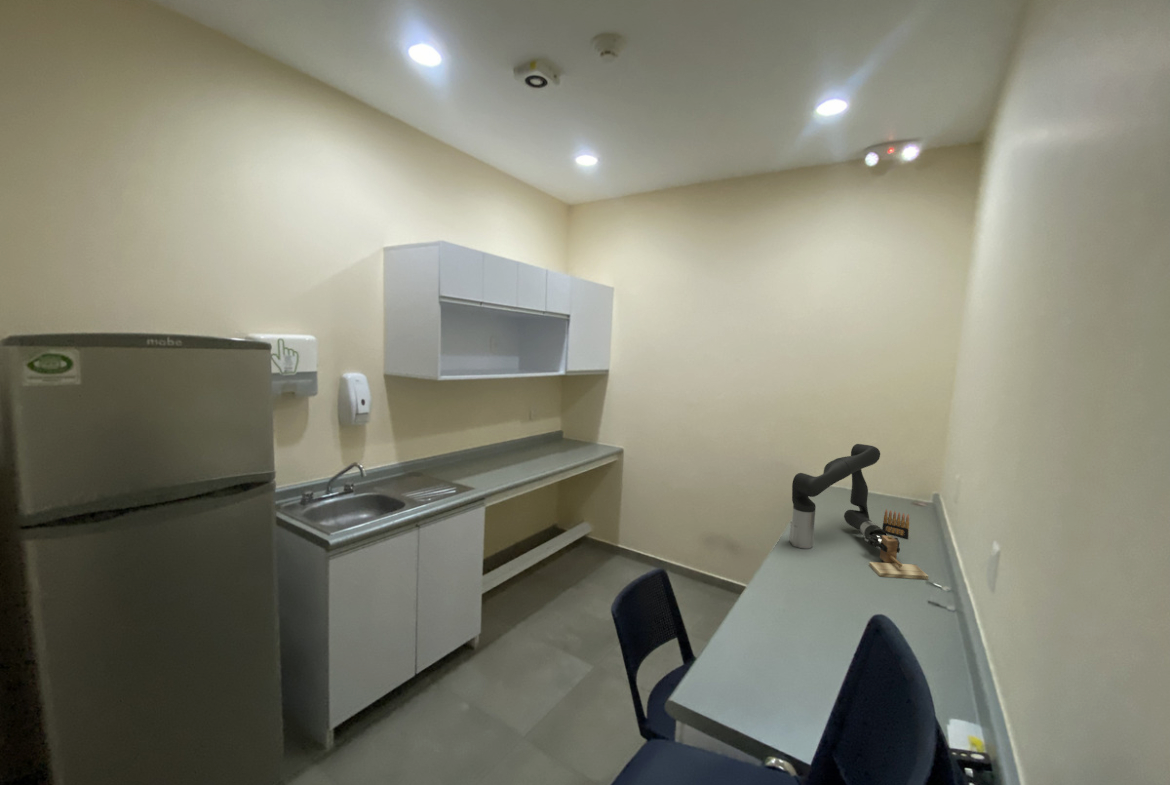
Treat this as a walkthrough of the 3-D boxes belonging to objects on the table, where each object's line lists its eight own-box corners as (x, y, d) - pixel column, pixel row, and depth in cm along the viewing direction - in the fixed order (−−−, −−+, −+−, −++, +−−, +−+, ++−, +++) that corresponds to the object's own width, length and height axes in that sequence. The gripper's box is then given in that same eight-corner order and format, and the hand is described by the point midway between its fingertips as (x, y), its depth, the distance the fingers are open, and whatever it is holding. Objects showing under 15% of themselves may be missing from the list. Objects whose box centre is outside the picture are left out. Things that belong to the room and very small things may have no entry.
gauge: (894, 572, 190) (897, 547, 188) (879, 557, 202) (882, 533, 200) (905, 573, 189) (908, 548, 188) (889, 557, 202) (892, 534, 200)
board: (879, 576, 188) (880, 572, 188) (869, 565, 197) (869, 561, 197) (928, 579, 186) (928, 575, 186) (915, 568, 195) (915, 564, 195)
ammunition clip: (908, 538, 223) (910, 514, 221) (907, 539, 221) (910, 515, 220) (882, 531, 230) (884, 508, 228) (881, 532, 229) (883, 509, 227)
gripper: (856, 523, 213) (875, 540, 196) (890, 525, 211) (911, 542, 194) (855, 539, 214) (873, 557, 197) (888, 541, 212) (909, 559, 195)
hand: (892, 550), depth 196 cm, fingers closed on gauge, 4 cm apart
